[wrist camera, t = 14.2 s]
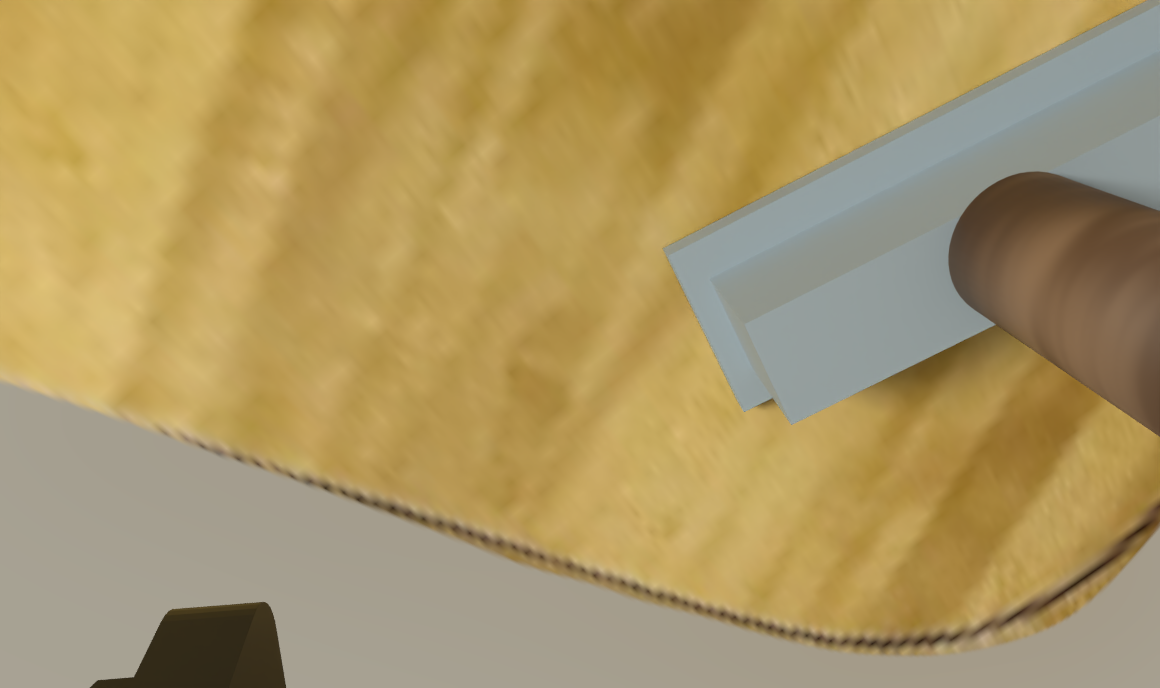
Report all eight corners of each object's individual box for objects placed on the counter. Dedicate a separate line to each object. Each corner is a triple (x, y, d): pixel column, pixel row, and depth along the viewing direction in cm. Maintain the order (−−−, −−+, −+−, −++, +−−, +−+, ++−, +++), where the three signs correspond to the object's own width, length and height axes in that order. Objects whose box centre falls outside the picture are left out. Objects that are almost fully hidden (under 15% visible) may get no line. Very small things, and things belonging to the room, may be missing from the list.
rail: (1173, -13, 35) (1305, -10, 29) (1217, 163, 37) (1347, 197, 32) (662, 248, 36) (695, 298, 31) (737, 401, 39) (781, 473, 33)
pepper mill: (1072, 143, 30) (1443, 252, 19) (1112, 276, 32) (1476, 452, 20) (927, 216, 31) (1203, 367, 19) (975, 344, 32) (1255, 554, 21)
